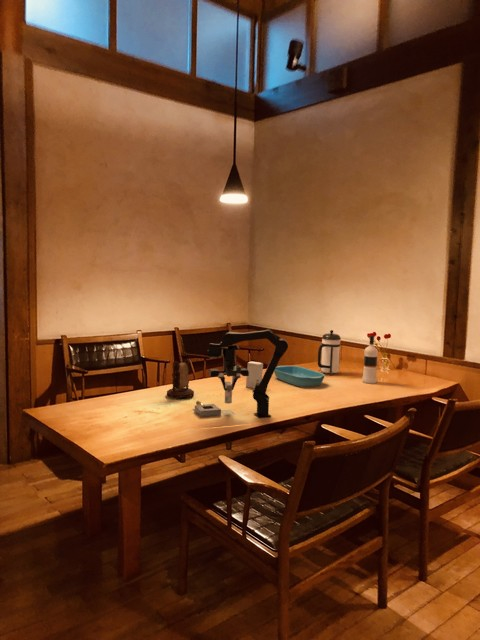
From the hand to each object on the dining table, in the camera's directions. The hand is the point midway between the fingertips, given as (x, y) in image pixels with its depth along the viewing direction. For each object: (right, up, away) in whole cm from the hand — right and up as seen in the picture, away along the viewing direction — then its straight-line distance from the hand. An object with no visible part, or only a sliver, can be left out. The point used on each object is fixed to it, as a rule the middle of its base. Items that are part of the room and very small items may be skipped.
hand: (228, 389), depth 252 cm
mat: (0, -12, +1) cm, 12 cm away
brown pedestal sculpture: (-27, -8, +31) cm, 42 cm away
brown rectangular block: (0, -6, +1) cm, 6 cm away
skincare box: (+14, -6, +58) cm, 60 cm away
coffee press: (+66, -3, +102) cm, 121 cm away
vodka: (+88, -6, +80) cm, 119 cm away
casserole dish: (+42, -5, +76) cm, 87 cm away
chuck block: (-12, -11, +3) cm, 17 cm away
